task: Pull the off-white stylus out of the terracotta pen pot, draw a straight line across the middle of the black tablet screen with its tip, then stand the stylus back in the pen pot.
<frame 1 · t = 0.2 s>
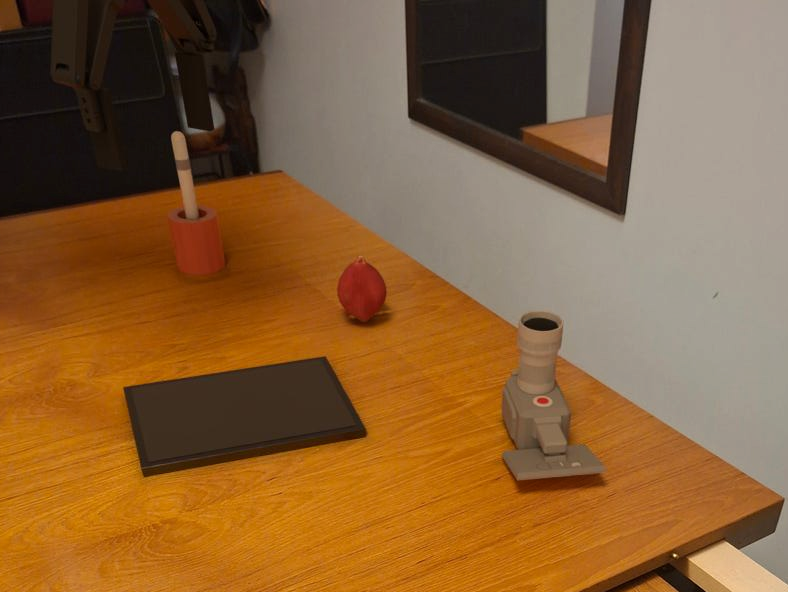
hand: (159, 147, 87), 22 cm above the table, tool pointing down, fingers open, 13 cm apart
pen pot: (202, 268, 119), on the table
tablet: (243, 415, 94), on the table
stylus: (201, 265, 118), resting on pen pot
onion: (363, 322, 110), on the table
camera: (541, 451, 91), on the table
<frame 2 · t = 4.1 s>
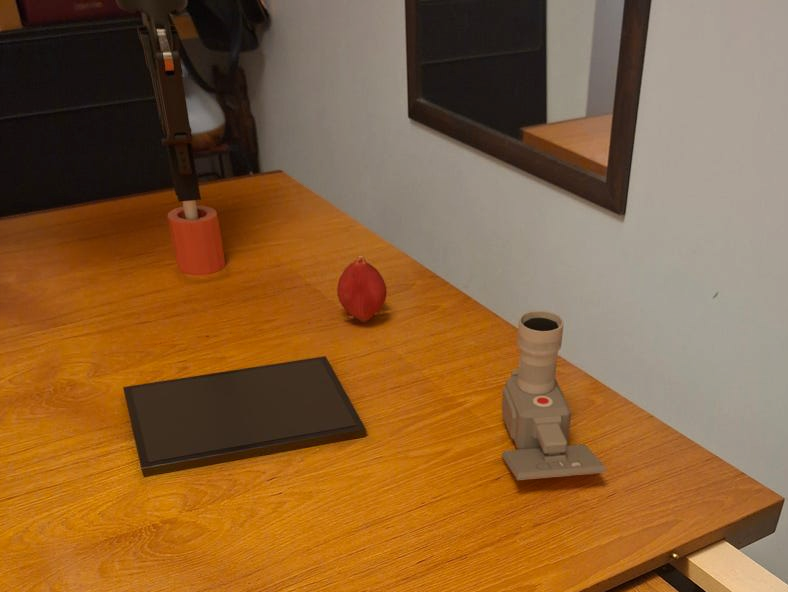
hand: (188, 196, 112), 9 cm above the table, tool pointing down, fingers closed on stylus, 2 cm apart
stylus: (200, 263, 118), point 1 cm above the table, touching gripper
everything else where it was.
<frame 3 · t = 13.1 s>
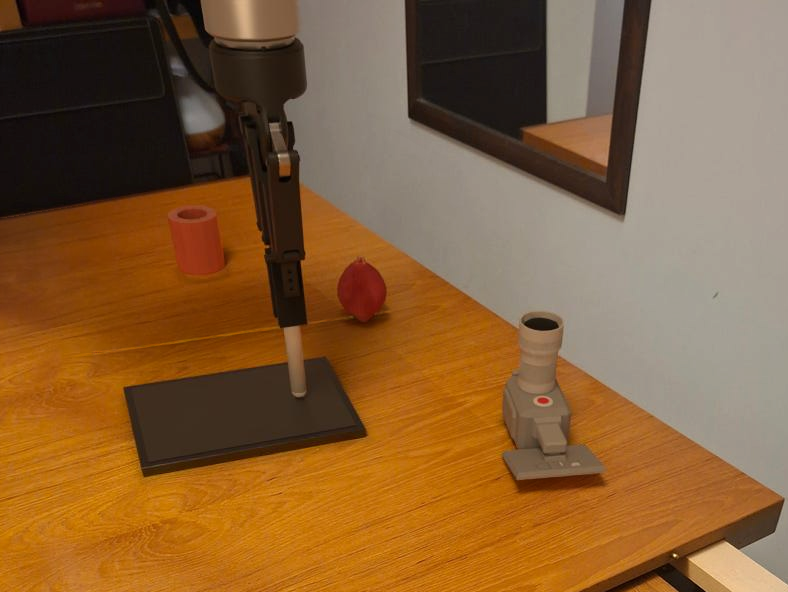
hand: (290, 319, 88), 10 cm above the table, tool pointing down, fingers closed on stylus, 2 cm apart
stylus: (299, 396, 94), point 1 cm above the table, touching gripper
everything else where it was.
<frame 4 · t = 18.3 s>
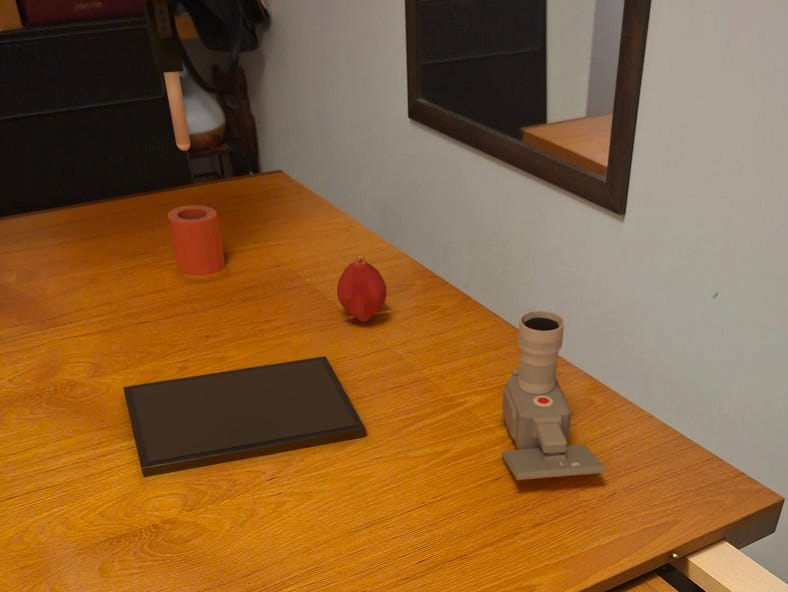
hand: (169, 68, 101), 23 cm above the table, tool pointing down, fingers closed on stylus, 2 cm apart
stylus: (184, 150, 107), point 15 cm above the table, touching gripper
everything else where it was.
when the fingers open (9 cm above the table, at t = 22.4 s): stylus stays where it is, resting on pen pot.
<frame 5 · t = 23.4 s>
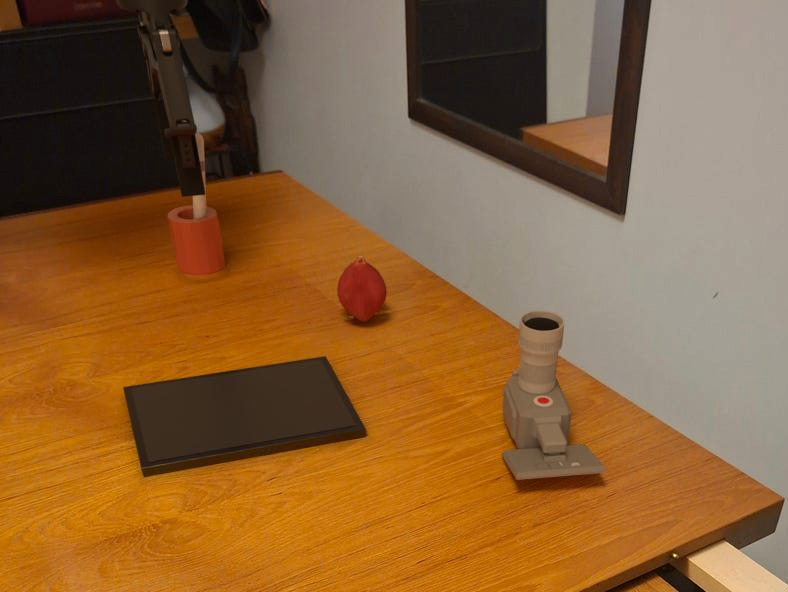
hand: (184, 176, 111), 11 cm above the table, tool pointing down, fingers open, 13 cm apart
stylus: (202, 265, 118), point 1 cm above the table, tilted 8°, touching pen pot
everything else where it was.
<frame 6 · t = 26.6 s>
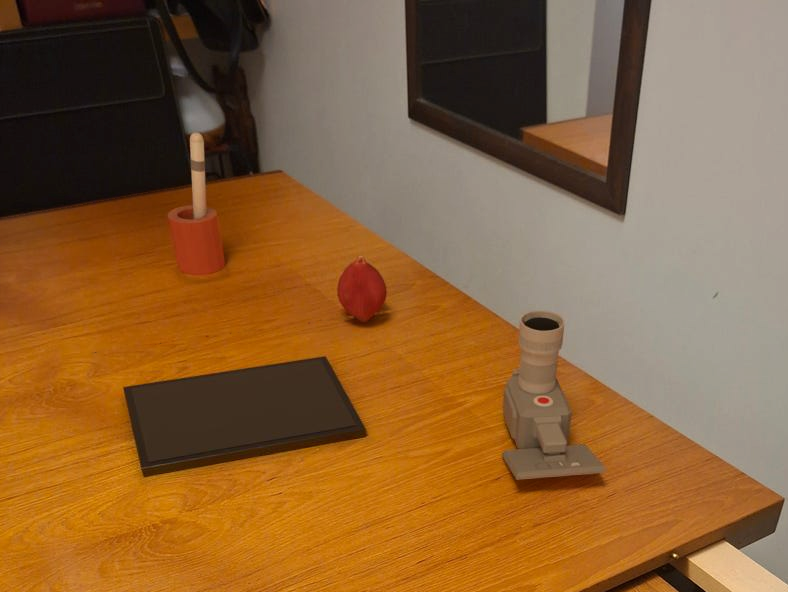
nothing on the table moved.
at the end: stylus 0.1 cm off-centre in the pen pot, point 0.5 cm above the pen pot's base; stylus tilted 8°; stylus touching pen pot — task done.
